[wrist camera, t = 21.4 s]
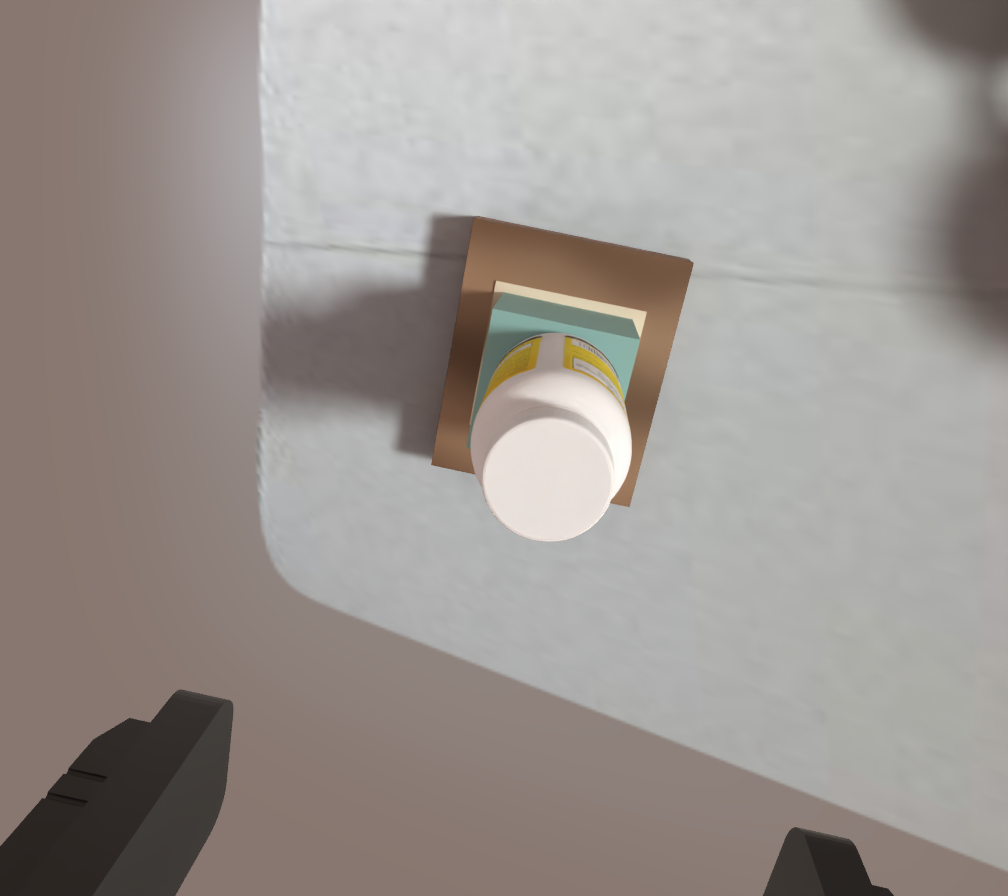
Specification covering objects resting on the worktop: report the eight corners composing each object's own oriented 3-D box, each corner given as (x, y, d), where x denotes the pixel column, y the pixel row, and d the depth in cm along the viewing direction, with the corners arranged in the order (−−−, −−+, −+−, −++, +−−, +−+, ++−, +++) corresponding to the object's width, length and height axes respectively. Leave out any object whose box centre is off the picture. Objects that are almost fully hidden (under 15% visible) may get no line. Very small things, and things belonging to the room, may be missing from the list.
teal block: (504, 292, 37) (492, 308, 32) (632, 319, 37) (640, 340, 32) (480, 415, 39) (466, 447, 34) (602, 441, 39) (605, 477, 34)
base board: (479, 216, 38) (473, 218, 36) (688, 259, 38) (693, 263, 36) (438, 452, 42) (431, 465, 40) (627, 492, 42) (629, 507, 40)
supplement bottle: (489, 456, 34) (455, 558, 25) (490, 328, 33) (454, 387, 23) (618, 461, 34) (632, 567, 25) (626, 332, 32) (645, 394, 23)
